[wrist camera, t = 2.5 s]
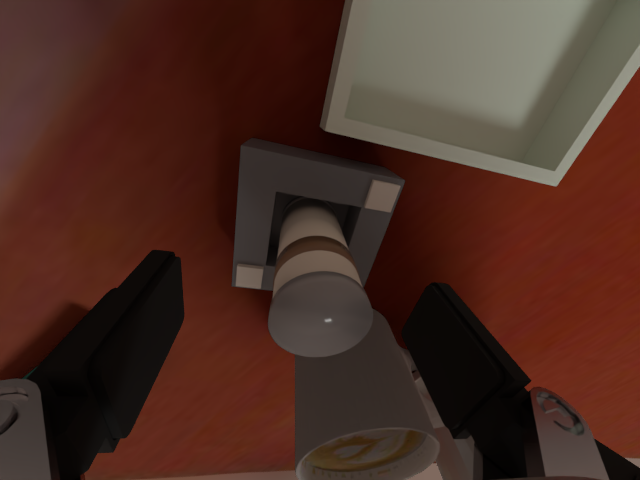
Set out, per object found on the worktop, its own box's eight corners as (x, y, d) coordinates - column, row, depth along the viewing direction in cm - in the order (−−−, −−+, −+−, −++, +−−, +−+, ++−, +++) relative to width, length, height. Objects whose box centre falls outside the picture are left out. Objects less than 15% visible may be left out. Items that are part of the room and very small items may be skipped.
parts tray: (638, -30, 13) (731, -67, 10) (516, 174, 18) (556, 186, 15) (377, -159, 10) (407, -258, 7) (319, 126, 15) (325, 130, 12)
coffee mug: (289, 368, 26) (286, 496, 18) (302, 300, 22) (307, 428, 13) (401, 370, 29) (448, 486, 20) (434, 310, 24) (514, 425, 15)
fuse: (342, 200, 16) (388, 289, 8) (329, 248, 18) (355, 359, 10) (286, 189, 16) (275, 275, 8) (277, 240, 17) (262, 353, 9)
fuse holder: (385, 167, 17) (407, 182, 13) (349, 271, 21) (359, 303, 17) (251, 137, 15) (239, 146, 12) (241, 257, 19) (230, 289, 16)
